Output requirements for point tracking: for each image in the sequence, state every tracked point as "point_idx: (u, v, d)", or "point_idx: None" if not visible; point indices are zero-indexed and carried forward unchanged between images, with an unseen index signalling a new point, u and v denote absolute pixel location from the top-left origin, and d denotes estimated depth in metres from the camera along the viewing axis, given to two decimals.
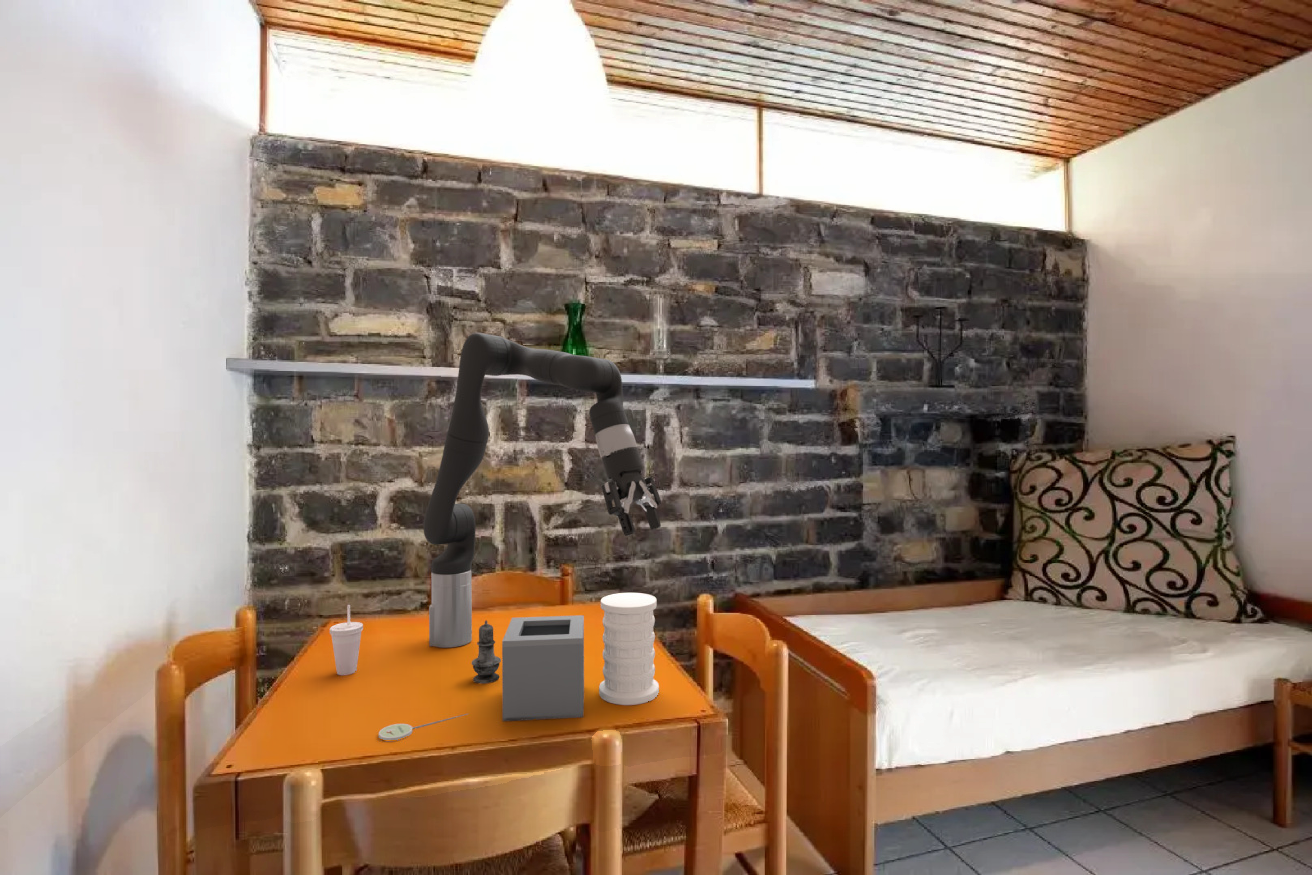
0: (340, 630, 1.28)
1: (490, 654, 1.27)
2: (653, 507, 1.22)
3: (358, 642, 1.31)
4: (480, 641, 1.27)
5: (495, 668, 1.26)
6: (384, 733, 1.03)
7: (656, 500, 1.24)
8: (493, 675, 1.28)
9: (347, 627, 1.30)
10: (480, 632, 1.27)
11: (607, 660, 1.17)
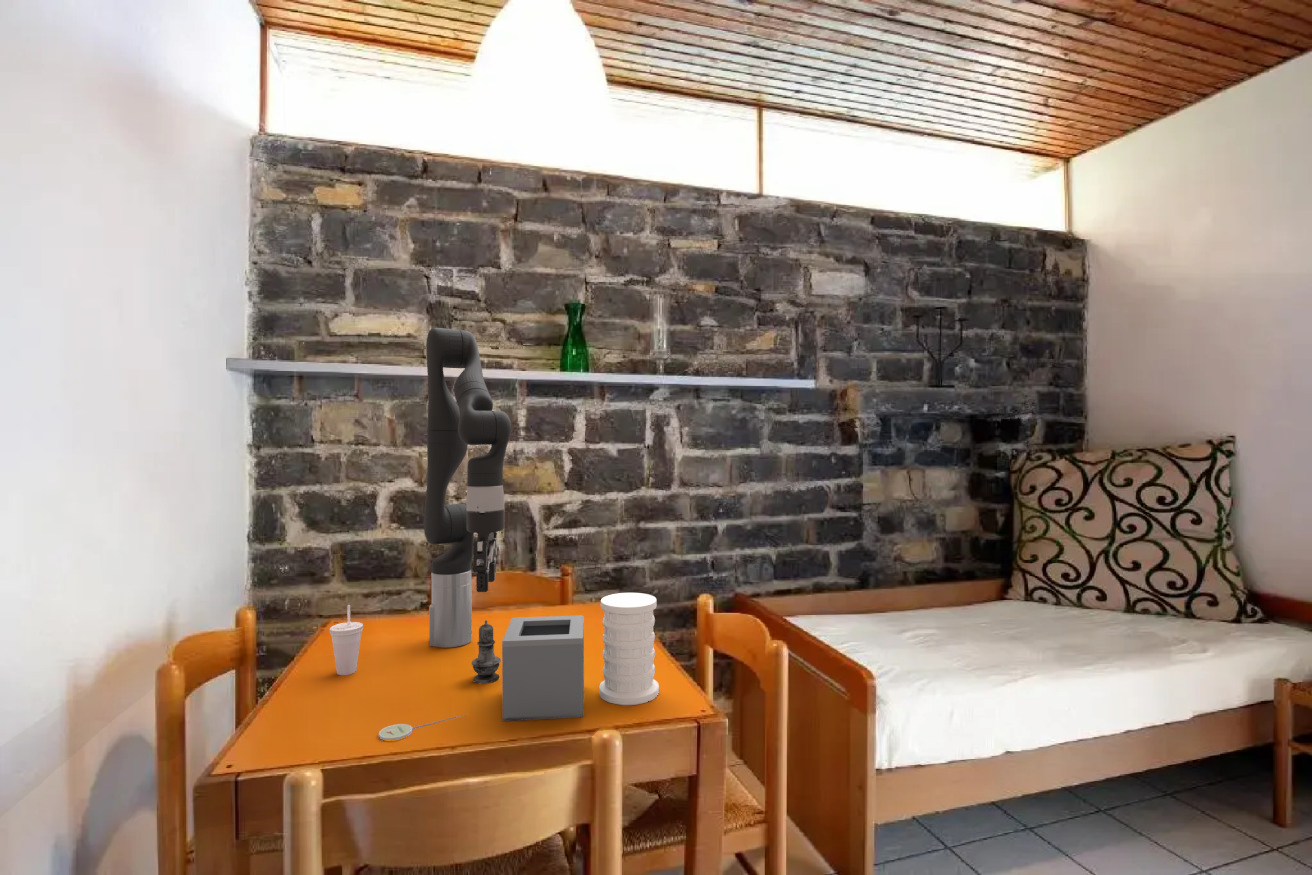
0: (340, 630, 1.28)
1: (489, 654, 1.27)
2: (493, 562, 1.32)
3: (358, 642, 1.31)
4: (480, 641, 1.27)
5: (495, 668, 1.26)
6: (384, 733, 1.03)
7: None
8: (493, 675, 1.28)
9: (347, 627, 1.30)
10: (480, 632, 1.27)
11: (607, 660, 1.17)
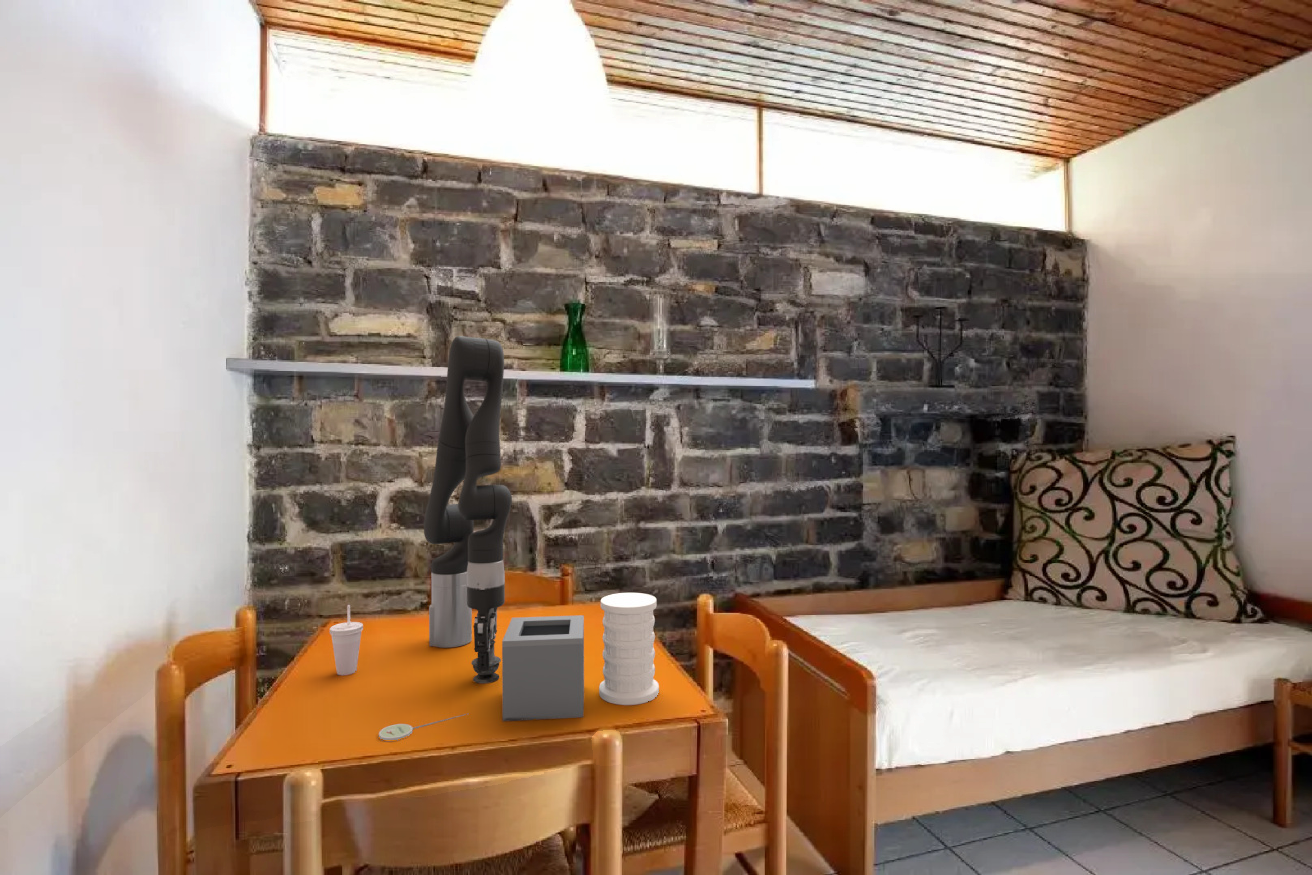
0: (340, 630, 1.28)
1: (489, 654, 1.27)
2: (493, 639, 1.31)
3: (358, 642, 1.31)
4: (480, 641, 1.27)
5: (495, 668, 1.26)
6: (384, 733, 1.03)
7: None
8: (493, 675, 1.28)
9: (347, 627, 1.30)
10: None
11: (607, 660, 1.17)
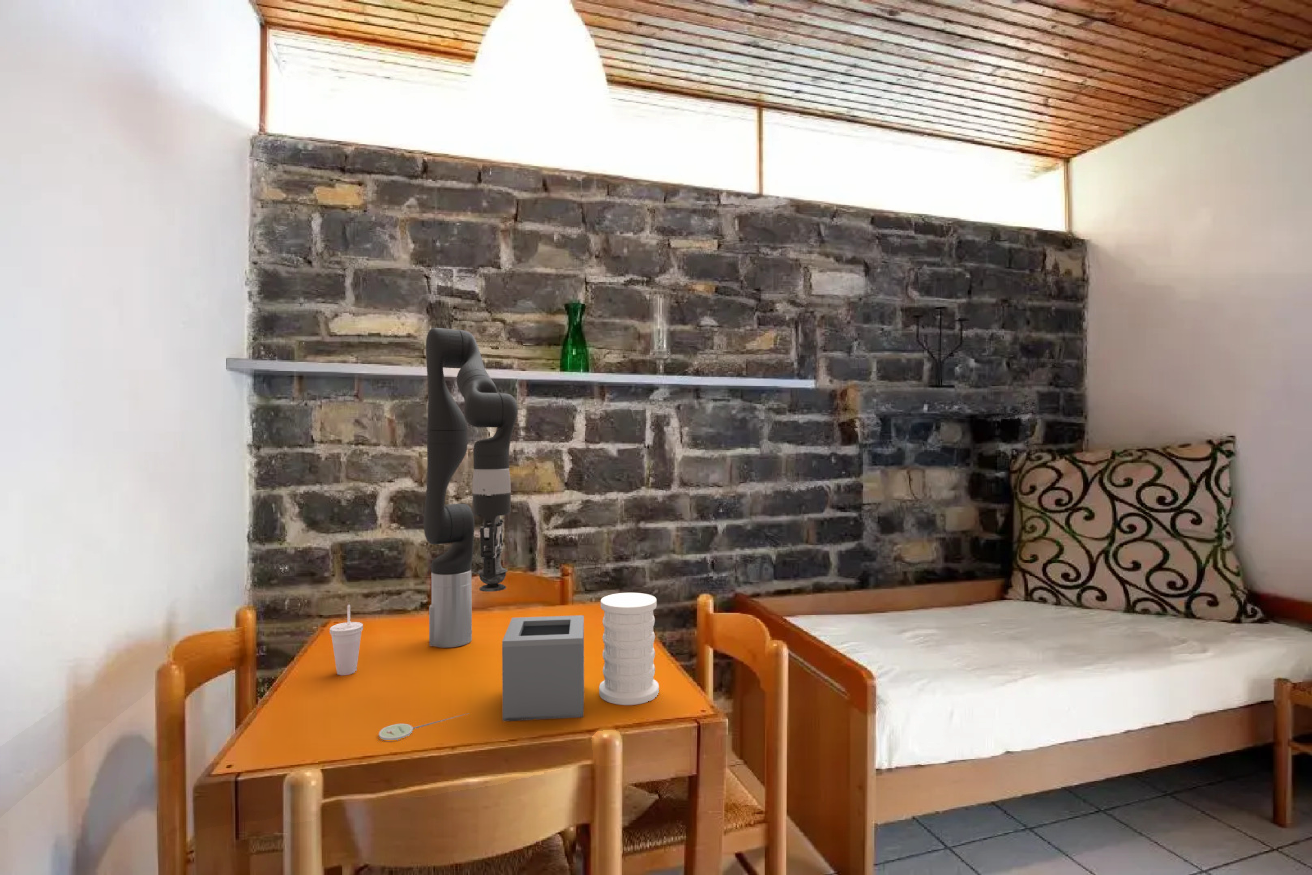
0: (340, 630, 1.28)
1: (496, 563, 1.25)
2: None
3: (358, 642, 1.31)
4: (486, 550, 1.25)
5: (502, 577, 1.25)
6: (384, 733, 1.03)
7: (500, 542, 1.31)
8: (499, 585, 1.26)
9: (347, 627, 1.30)
10: None
11: (607, 660, 1.17)
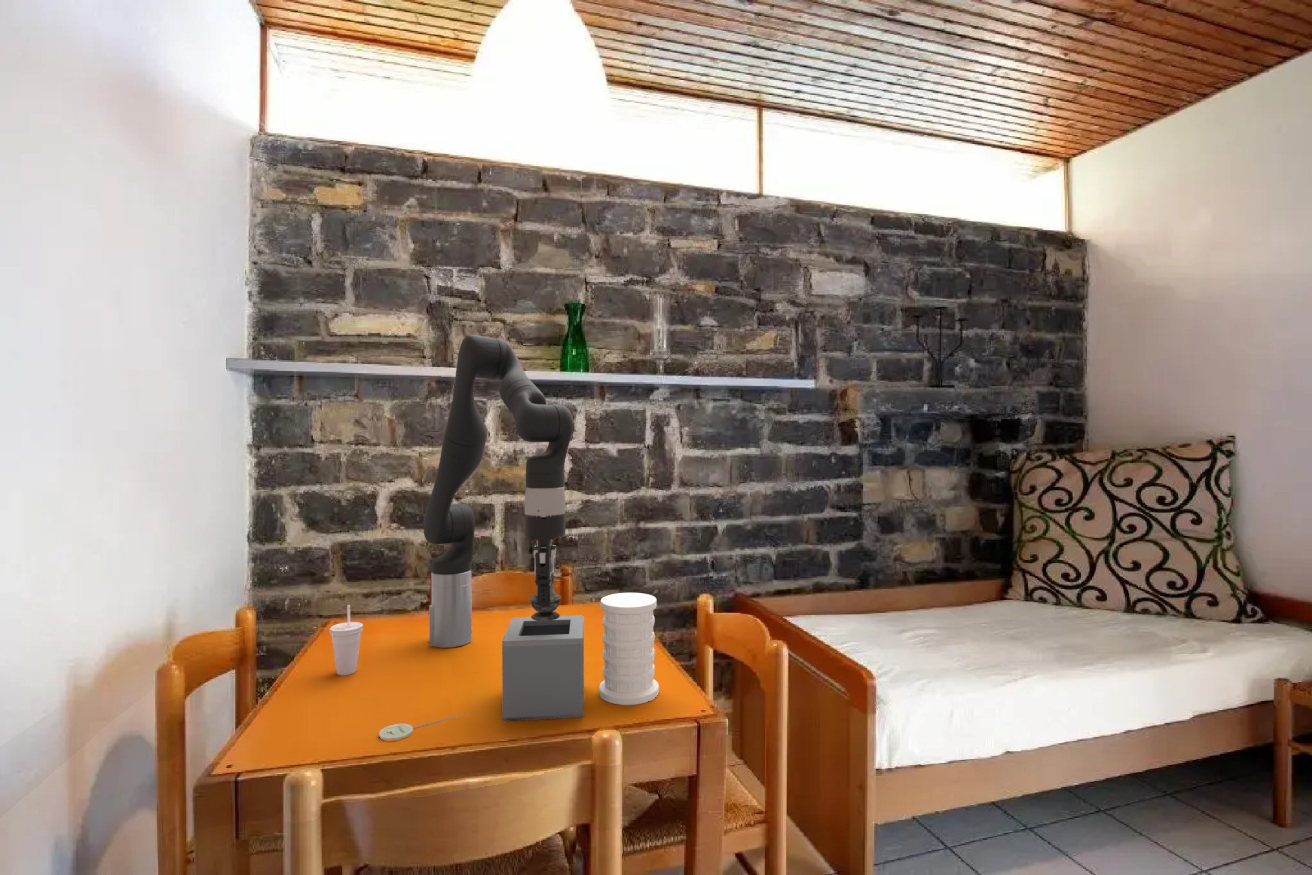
0: (340, 630, 1.28)
1: (550, 589, 1.15)
2: None
3: (358, 642, 1.31)
4: None
5: (556, 604, 1.15)
6: (384, 733, 1.03)
7: None
8: (553, 613, 1.16)
9: (347, 627, 1.30)
10: None
11: (607, 660, 1.17)
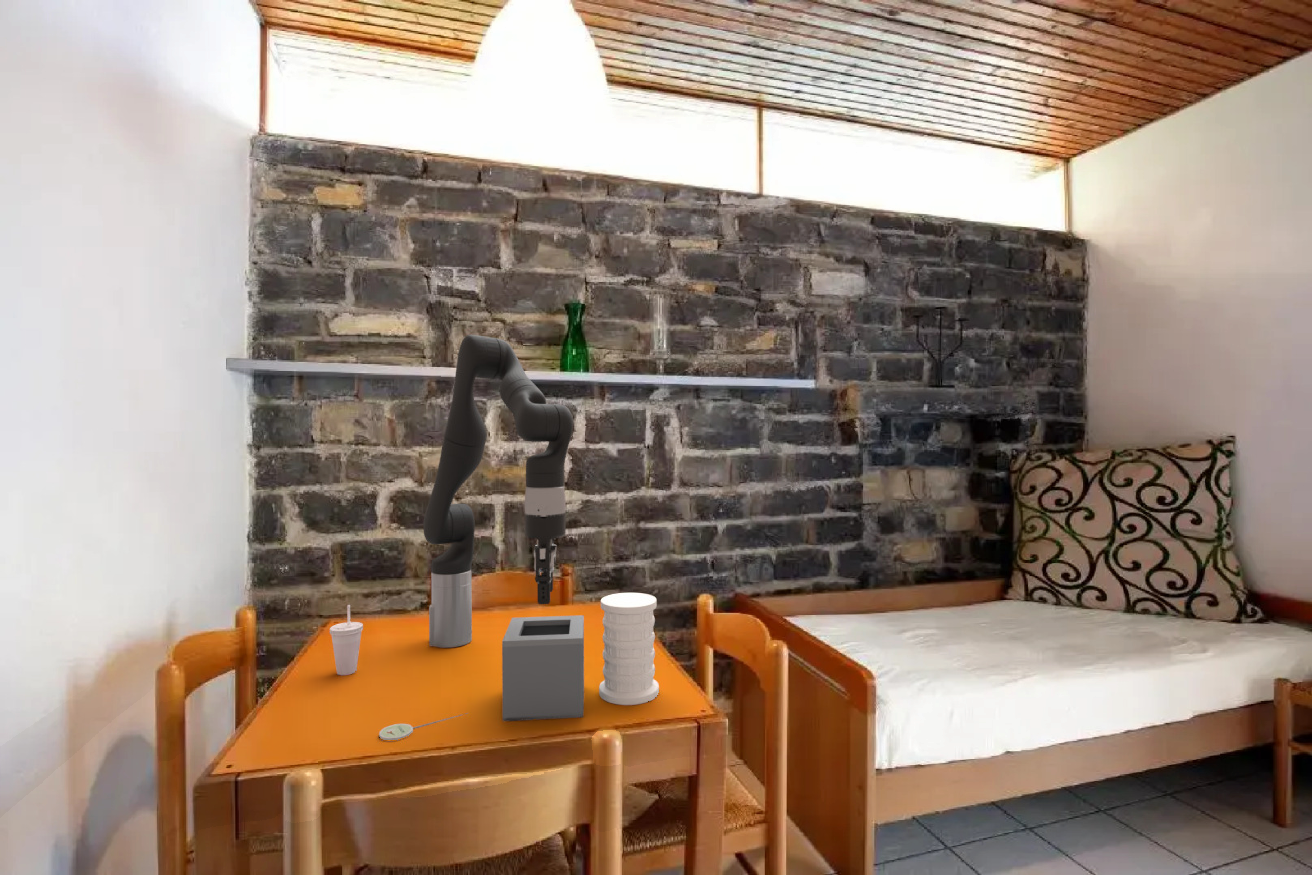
0: (340, 630, 1.28)
1: None
2: None
3: (358, 642, 1.31)
4: None
5: None
6: (385, 733, 1.03)
7: None
8: None
9: (347, 627, 1.30)
10: None
11: (607, 660, 1.17)
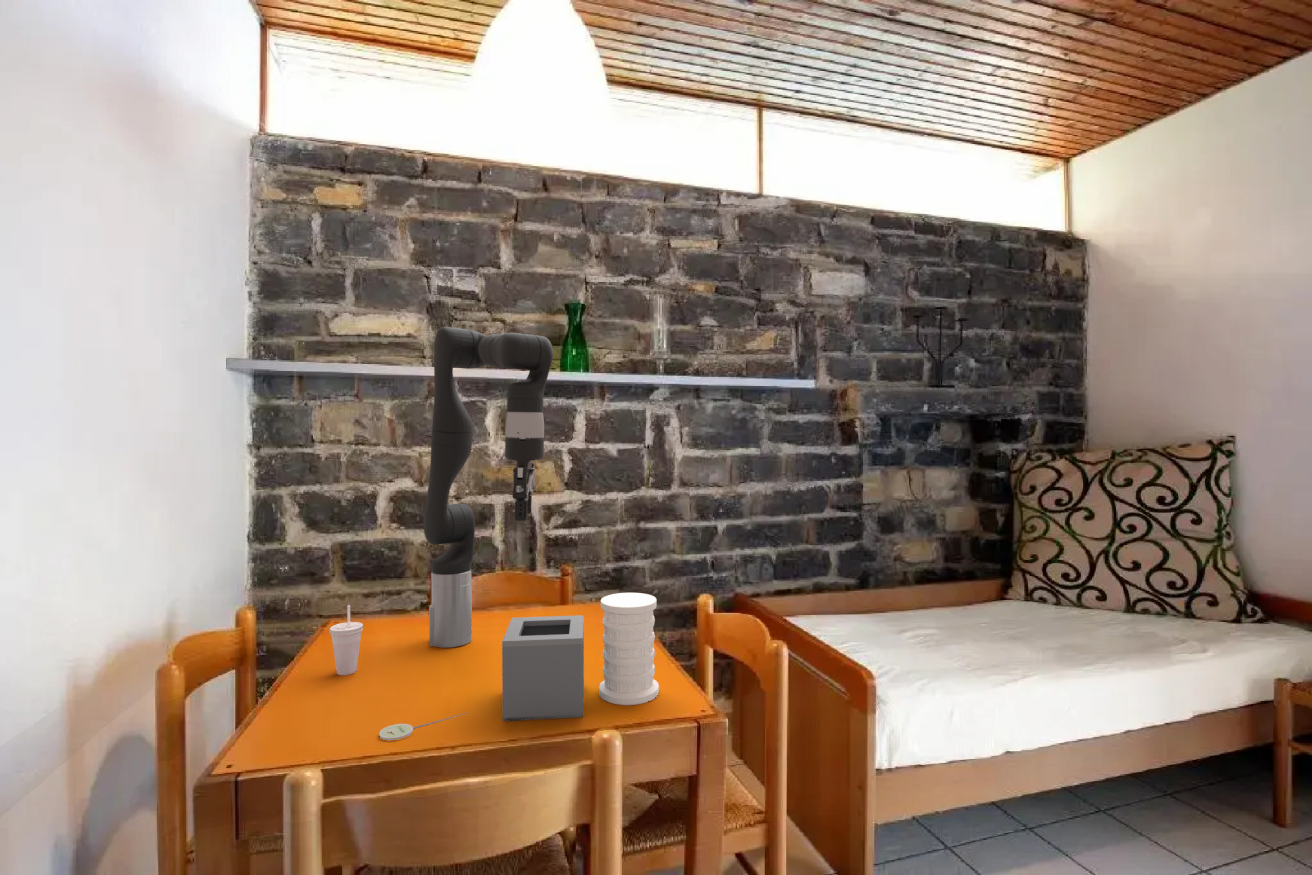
0: (340, 630, 1.28)
1: None
2: (530, 493, 1.28)
3: (358, 642, 1.31)
4: None
5: None
6: (385, 733, 1.03)
7: None
8: None
9: (347, 627, 1.30)
10: None
11: (607, 660, 1.17)
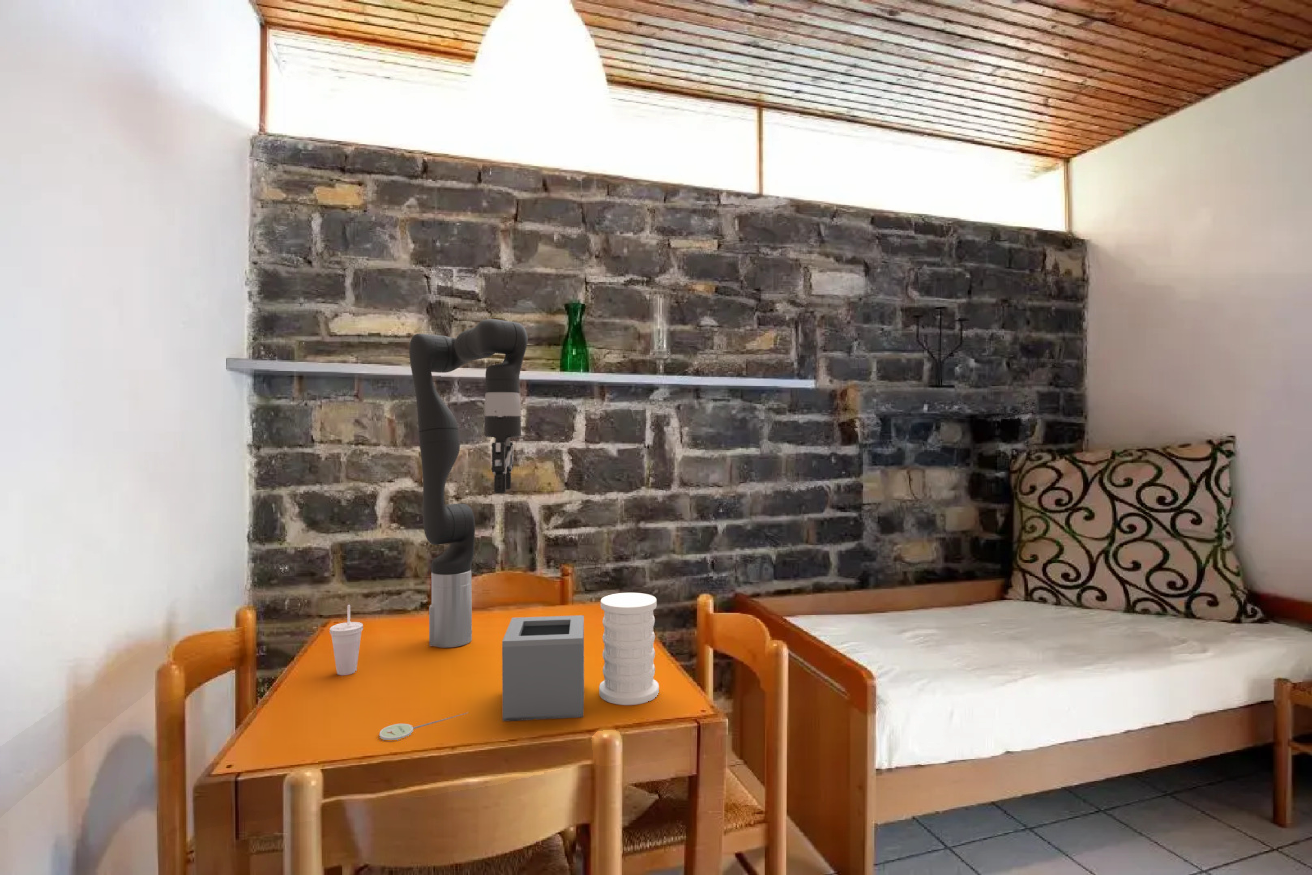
0: (340, 630, 1.28)
1: None
2: (510, 470, 1.36)
3: (358, 642, 1.31)
4: None
5: None
6: (385, 733, 1.03)
7: (511, 464, 1.38)
8: None
9: (347, 627, 1.30)
10: None
11: (607, 660, 1.17)
